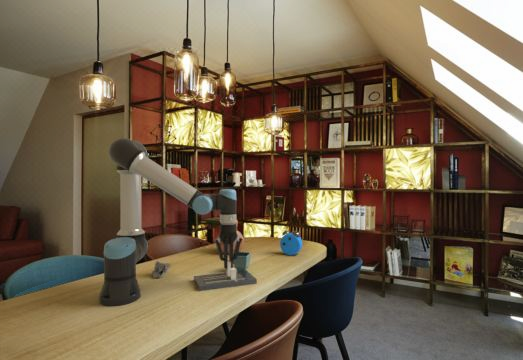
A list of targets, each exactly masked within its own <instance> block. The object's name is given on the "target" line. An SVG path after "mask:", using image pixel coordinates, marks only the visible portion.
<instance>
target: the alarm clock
mask: <svg viewBox="0 0 523 360" xmlns="http://www.w3.org/2000/svg"><path fill="white" fill-rule="evenodd" d="M281 234H282V237H281V238H280V242H279V246H280V250H281V251H282V252H283V253H284V254H285V255H288V256H295V255H298V253H299V252H301V250H302V248H303V241H302V237H301V234H300V232H299V231H297V230H293V232H290V231H289V230H284V231H282V233H281Z"/></svg>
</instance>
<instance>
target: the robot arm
mask: <svg viewBox="0 0 523 360" xmlns="http://www.w3.org/2000/svg"><path fill="white" fill-rule="evenodd" d="M108 155H109V158H110V160H111V161H112V162H113V163H114V164H115V165H116V172H117V173H118V174H119V175H120V180H119V181H120V186H119V187H120V191H119V193H120V198H119V199H120V229H119V230H118V232H117V233H116V237H115V238H112V239H110V240H108V241H107V242H105V243H104V246H103V278H104V279H103V284H102V287H101V291H99V292H100V293H99V297H98V301H99V304H100V305H102V306H103V305H104V306H109V307H110V306H113V307H114V306H122V305H128V304H131V303H134V302H136V301H137V300H139V299H140V298H141V296H142V294H141V293H142V292H141V287H140V284H139V282H138V279H137V263H138V262H139V261H141V260H142V259H143V258H144V257H145V256H146V254H147V252H148V247H149V245H148V241H147V239H146V231H145V230H144V229H143V228H142V178H143V179H145V180H147V181H148V182H150V183H152V184H153V185H154V186H156V187H158V188H160V189H161V190H163V191H165V193H167V194H169V195H170V196H172V197H174V198H176V199H177V200H178V201H180V202H182V203H183V204H185V205H186V206H188V207H189V208H190V209H192V210H193V211H194V212H195V213H196V214H198V215H202V216H203V215H207V214H209V213H210V212H211V211H219V223H220V224H219V233H220V235H219V234H218V235H219V237H218V238H217V237H216V238H217V239H216V238H214V239H213V241H214V243H215V246H216V245H217V246H216V249H217V252H218V257H219V259H220V260H221V261H223V268H224V269H225V272H226V275H227V276H231V268H233V261H234V260H235V259H237V256H238V251H239V247H240V243H241V241H242V238H240V237H238V235H237V231H238V224H236V222H237V221H238V220H237V201H238V199H237V191H236V190H235V189H230V188H228V189H227V188H226V189H225V188H223V189H220V190H219V193H203V192H201V191H200V190H198V189H197V188H195V187H193V186H192V185H190V184H189V183H188V182H186V181H184V180H183V179H181V178H180V177H178V176H177V175H175V174H174V173H172V172H170V171H169V170H167V169H166V168H165V167H163V166H161V165H160V164H158V163H157V162H155V161H154V160H152V159H150V158H149V157H148V152H147V149H146V147H145V146H144V145H143V144H142V143H140V142H138V141H136V140H133V139H130V138H126V137H121V138H116V140H114V141H112V142H111V144H110V145H109V148H108ZM236 238H237V239H236ZM220 240H221V241H222V242H223V245H224V254H222V250H221V246H220ZM235 240H236V241H237V242H236V246H235V250H234V255H233V243H234V241H235ZM228 244H229V255H228Z"/></svg>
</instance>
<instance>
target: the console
mask: <svg viewBox="0 0 523 360" xmlns="http://www.w3.org/2000/svg"><path fill="white" fill-rule="evenodd" d="M193 281H194V283H195V285H196V287H197V288H198V291H199V292H202V291H210V290H218V289H226V288H233V287H240V286H249V285H256V284H257V283H258V282H257V281H258V279H257V278H256V277H255V276H254V275H252V274H251V273H250V272H249V271H248V269H247V270H244V271H236V279H230V278H229V276H227V275H226V271H224V272H216V273H206V274H200V275H195V276H194V275H193Z"/></svg>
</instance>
